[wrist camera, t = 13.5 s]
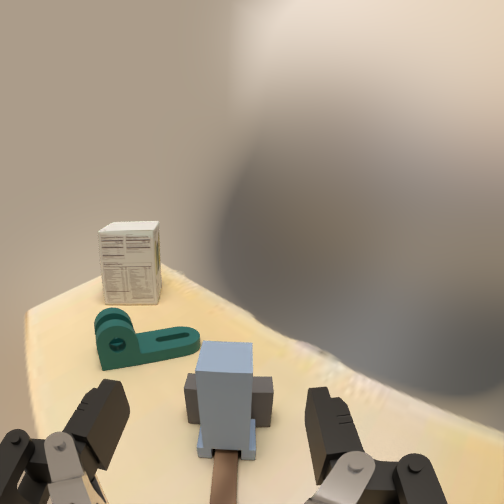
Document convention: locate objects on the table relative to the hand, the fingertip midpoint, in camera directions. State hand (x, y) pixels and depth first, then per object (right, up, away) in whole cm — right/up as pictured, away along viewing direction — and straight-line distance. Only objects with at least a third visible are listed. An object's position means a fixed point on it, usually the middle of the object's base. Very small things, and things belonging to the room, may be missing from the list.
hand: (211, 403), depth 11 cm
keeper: (-1, -16, +18) cm, 24 cm away
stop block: (-1, -15, +22) cm, 26 cm away
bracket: (-16, -11, +36) cm, 41 cm away
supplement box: (-27, -5, +59) cm, 65 cm away
